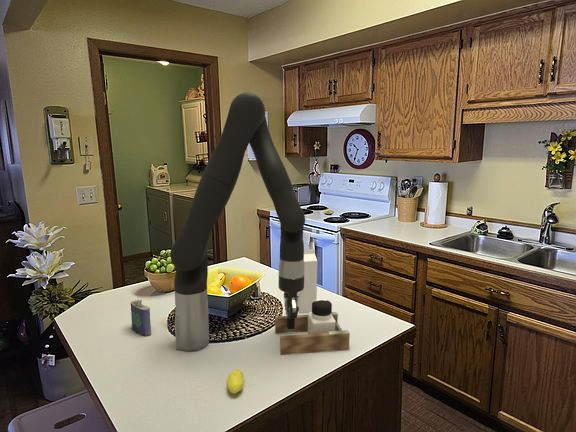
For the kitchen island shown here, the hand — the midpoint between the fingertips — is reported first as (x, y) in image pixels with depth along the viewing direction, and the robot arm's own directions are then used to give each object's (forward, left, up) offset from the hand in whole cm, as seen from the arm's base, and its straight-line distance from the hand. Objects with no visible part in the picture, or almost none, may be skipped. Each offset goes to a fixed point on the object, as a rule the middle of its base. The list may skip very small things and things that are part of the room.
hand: (290, 328), depth 117 cm
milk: (+9, +22, -5) cm, 24 cm away
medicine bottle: (+10, 0, -5) cm, 11 cm away
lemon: (-17, -20, -5) cm, 27 cm away
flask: (-46, +13, -5) cm, 48 cm away
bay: (+6, 0, -4) cm, 8 cm away
